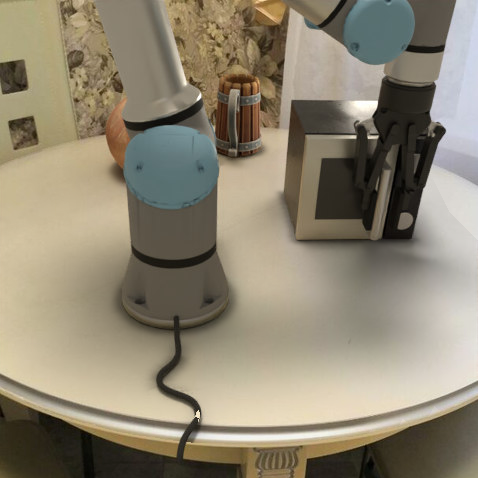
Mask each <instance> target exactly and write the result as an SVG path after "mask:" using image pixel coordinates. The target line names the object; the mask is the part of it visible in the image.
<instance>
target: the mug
mask: <svg viewBox="0 0 478 478" xmlns="http://www.w3.org/2000/svg"><path fill="white" fill-rule="evenodd" d="M218 82H219V83H218V88H217V95H216V99H217V104H216V114H215V115H216V116H215V126H214V132H215V135H216V150H217V153H220V154H222V155H226V156H228V157H232V158H233V157H234V158H236V157H239V158H240V157H248V156H253V155H255V154H257V153H258V152H259V151H260V150H261V146H262V134H261V98H262V97H261V96H262V95H261V88H260V80H259V77H257V76H254V75H253V74H249V73H248V74H246V73H244V72H243V73H242V72H240V73H238V74H237V73H236V72H232V73H226V74H223V76H220V78H219V81H218Z"/></svg>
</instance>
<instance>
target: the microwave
mask: <svg viewBox="0 0 478 478" xmlns="http://www.w3.org/2000/svg"><path fill="white" fill-rule="evenodd" d="M377 105H378V100H341V99H340V100H337V99H333V100H332V99H331V100H330V99H291V100H290V112H289V122H288V123H289V124H288V136H287V147H286V159H285V170H284V183H283V197H284V200H285V203H286V207H287V211H288V214H289V218H290V222H291V225H292V228H293V232H294V235H295V234H296V224H297V214H298V204H299V194H300V184H301V174H302V164H303V154H304V144H305V135H356V132H355V128H354V122H355V121H356V120H360V121H361V122H362V121H365V120H367V119H370V118H372V115H373V113H374V112H375V111H376V109H377ZM426 130H427V128H426ZM426 130H425V131H424V132H423V133H422V134H421V135H420V136H419V137H418V138H417V139H416V151H415V156H414V175H415V171H416V168H417V164H418V161H419V157H420V154H421V150H422V147H423V144H424V140H425V137H426V135H427V134H426ZM370 135H379V133H378V132H377V130H376V128H375V126H374V127H373V128H372V130H371V134H370ZM401 168H402V145H401V144H400V145H399V150H398V156H397V161H396V166H395V171H394V176H393V181H392V186H391V192H390V197H389V202H388V207H387V212H386V217H385V223H384V228H383V233H382V238H383V239H413V237H414V232H415V227H416V224H417V223H416V222H417V218H418V215H419V211H420V206H421V201H422V197H423V192H424V188H423V189H415V190H414V191H415V192H414V194H413V195H411V196H410V200H409V204H408V208H407V209H406V210H402V211H401V215H400V220H399V224H398V228H397V231H392V229H391V227H390V226H389V224H388V220H389V215H390V211H391V206H392V201H393V197H394V192H395V187H396V186H401V187H402V185H401Z"/></svg>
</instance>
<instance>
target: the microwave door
mask: <svg viewBox="0 0 478 478" xmlns="http://www.w3.org/2000/svg"><path fill="white" fill-rule="evenodd" d="M378 136H379V135H369V136H368V148H367V157H366V165H365V174H366V172H367V169H368V166H369V164H370V161H371V158H372V156H373V153H374V150H375V148H376V145H377V139H378ZM355 145H356V135H305V144H304V154H303V164H302V174H301V184H300V194H299V204H298V214H297V224H296V234H295V233H294V235H295V238H296V240H302V241H303V240H304V241H305V240H307V241H308V240H372V241H377V240H381V239H382V238H383V236H382V233H383V228H384V223H385V217H386V212H387V207H388V202H389V197H390V192H391V186H392V181H393V176H394V171H395V166H396V161H397V156H398V150H399V145H400V144H396V145H392V148H391V150H390V152H388V154H387V157H386V160H385V162H384V165H383V167H382V170H381V172H380V175H379V178H378V180H377V183H376V185H375V189H376V191H377V193H378V195H377V200H376V206H375V211H374V216H373V221H372V226H371V231H366V230H365V228H364V226H363V223H362V220H363V215H364V210H363V209H362V207H361V205H360V200H361V194H362V189H361V188H356V186H355V184H354V182H353V180H352V173H353V164H354V154H355ZM365 174H364V177H365Z"/></svg>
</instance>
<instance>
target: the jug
mask: <svg viewBox="0 0 478 478" xmlns="http://www.w3.org/2000/svg"><path fill="white" fill-rule="evenodd" d="M126 102H127V97H124V98H123V99H122V100H121V101H119V102H118V103H117V104H116V105H115V106H114V108H113V109H112V110H111V113H110V114H109V115H108V116H109V117H108V118H107V120H106V124H105V129H104V130H105V141H106V144H107V147H108V150H109V152H110V154H111V156H112V158H113V159H114V161H115V162H116V163H117V164H118V166H119V167H120V168H121V170H123V167H124V161H125V151H126V147H127V145H128V143H129V142H130V139H129V136H128V133H127V130H126V127H125V124H124V121H123V118H122V115H121V112H122V110H123V108H124V106H125V104H126Z"/></svg>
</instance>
